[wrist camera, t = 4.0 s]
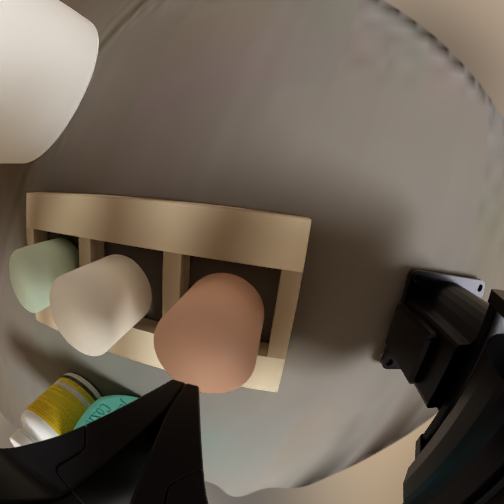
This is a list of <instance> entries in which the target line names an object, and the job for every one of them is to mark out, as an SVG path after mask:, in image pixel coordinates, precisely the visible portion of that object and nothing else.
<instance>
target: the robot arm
mask: <svg viewBox="0 0 504 504" xmlns="http://www.w3.org/2000/svg"><path fill="white" fill-rule="evenodd" d="M416 275H418V279H417V280H416V281H414V277H415V276H416ZM478 286H479V288H478ZM484 289H485V283H484V281H482V280H480V279H476V278H470V277H464V276H458V275H452V274H446V273H439V272H433V271H427V270H421V269H413V270H411V271H410V272H409V274H408V277H407V280H406V284H405V288H404V292H403V295H402V299H401V302H400V304H399V305H398V306H397V308H396V312H395V315H394V318H393V321H392V324H391V327H390V330H389V333H388V336H387V339H386V344H387V345H386V347H385V350H384V353H383V355H382V358H381V364H382V366H383V367H384V368H385V369H401V370H402V372H403V373H404V375H405V377H406V379H407V380H408V382H409V383H410V384H414V385H415V386H416V388H417V390H418V392H419V393H420V395H421V397H422V399H423V401H424V402H425V404H426V406H427V408H434V407H437V409H438V410H439V412H438V413H437V415H436V416H435V418H434V419H433V421H432V422H431V424H430V425H429V427H428V428H427V430H426V431H425V433H424V434H421V436H420V437H419V438H418V440H417V441H416V450H415V460H414V462H413V463H412V464H411V465H410V467H409V468H408V471H407V474H406V477H405V480H404V483H403V498H404V499H403V500H404V503H403V504H504V291H503V290H496V289H492V290H491V293H490V296H489V299H488V303H489V304H488V303H487V302H485V301H484V300H482V295H483V292H484ZM389 359H391V360H390V361H389V362H387V361H388V360H389ZM0 504H208V500H207V496H206V489H205V482H204V471H203V459H202V444H201V426H200V402H199V387H198V386H197V385H192V384H189V383H187V384H185V383H184V382H181V381H177V380H171V381H169V382H167V383H165V384H164V385H162V386H160V387H158V388H156V389H155V390H153V391H151V392H149V393H147V394H145V395H143V396H142V397H140V398H138V399H136V400H134V401H132V402H130V403H128V404H126V405H124V406H122V407H120V408H119V409H117V410H115V411H113V412H111V413H109V414H106V415H104V416H102V417H100V418H98V419H96V420H94V421H92V422H90V423H88V424H86V426H85V425H83V426H81V427H79V428H77V429H74V430H72V431H69V432H67V433H64V434H62V435H59V436H56V437H53V438H50V439H46V440H43V441H39V442H35V443H31V444H27V445H23V446H19V447H14V448H5V449H3V448H2V449H1V448H0Z"/></svg>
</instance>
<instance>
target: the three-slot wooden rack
mask: <svg viewBox="0 0 504 504" xmlns="http://www.w3.org/2000/svg"><path fill="white" fill-rule="evenodd" d="M310 226H311V219H310V218H308V217H302V216H295V215H288V214H281V213H274V212H267V211H260V210H252V209H244V208H237V207H228V206H220V205H211V204H202V203H193V202H184V201H173V200H163V199H152V198H140V197H127V196H114V195H98V194H81V193H59V192H32V193H27V199H26V234H27V246H29V245H33V244H37V243H40V242H44V241H47V231H49V232H54V233H60V234H65V235H71V236H77V237H79V267H82V266H84V265H87V264H89V263H92V262H94V261H97V260H99V259H101V258H104V241H105V242H111V243H117V244H123V245H129V246H135V247H141V248H147V249H153V250H159V251H164V253H163V282H162V317H163V316H164V315H165V314H166V313H167V312H168V311H169V310H170V309H171V308H172V307H173V306H174V305H175V304H176V303H177V301H178V300H179V299H180V298H181V297H182V296H183V295H184V294H185V293H186V292H187V291H188V290H189V272H190V257H191V256H197V257H203V258H210V259H216V260H222V261H229V262H235V263H242V264H249V265H255V266H262V267H269V268H275V269H281V274H280V280H279V286H278V292H277V298H276V304H275V310H274V316H273V322H272V327H271V333H270V338H269V343H265V342H260V343H259V349H258V354H257V359H256V365H255V369H254V371H253V373H252V375H251V377H250V378H249V379H248V380H247V382H246V383H244V384H243V385H242V386H240V387H246V388H252V389H258V390H265V391H272V392H277V391H278V387H279V383H280V379H281V375H282V371H283V367H284V362H285V358H286V353H287V349H288V345H289V340H290V335H291V331H292V326H293V321H294V316H295V311H296V306H297V301H298V296H299V291H300V285H301V280H302V274H303V269H304V263H305V257H306V251H307V245H308V239H309V233H310ZM36 318H37V321H39V322H41V323H43V324H45V325H47V326H49V327H52V328H54V329H56V330H58V331H59V329H58V328H57V326H56V324H55V322H54V319H53V317H52V313H51V309H50V306H48V307H46V308H45V309H43V310H41V311H39V312H37V313H36ZM158 322H159V321H155V320H151V319H147V318H142V319H141V320H140V321H139V322H138V323H136V324H135V325H134V326H133V327H132V328H131V329H130V330H129V331H128V332H127V333H126V334H125V335H123V336H122V337H121V338H120V339H119V340H118V341H117V342H116V343H115V344H114V345H113V346H112V347H111V348H110V349H108V350H107V351H109V352H112V353H114V354H117V355H120V356H123V357H126V358H129V359H132V360H135V361H138V362H141V363H144V364H148V365H151V366H154V367H158V368H161V369H164V368H163V366H162V365H161V363H160V362H159V360H158V358H157V355H156V353H155V349H154V332H155V329H156V326H157V324H158Z"/></svg>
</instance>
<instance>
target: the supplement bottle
mask: <svg viewBox="0 0 504 504" xmlns="http://www.w3.org/2000/svg"><path fill="white" fill-rule="evenodd" d="M99 398H101V395H100V394H99V393H98V391H97V390H96V389H95V388H94V387H93V386H92V385H91V384H90V383H89V382H88V381H87V380H85V379H84V378H82V377H81V376H79V375H77V374H74V373H66V374H64V375H63V376H61V377H60V378H59V379H58V380H57V381H56V382H55V383H54V384H52V385H51V386H50V387H49V388H48V389H47V390H46V391H45V392H44V393H43V394H42V395H40V396H39V397H38V398H37V399H36V400H35V401H34V402H33V403H32V404H31V405H30V406H29V407H27V409H25V411H24V412H23V413H22V415H21V423H22V425H23V429H22V430H21V429H18V430H17V431H15V432H14V433H13V435H12V436H11V437H10V441H11V442H12V444H13V445H14V447H19V446H23V445H27V444H31V443H35V442H39V441H43V440H46V439H50V438H53V437H56V436H59V435H62V434H64V433H67V432H69V431H72V430H74V428H75V426H76V424H77V423H78V421H79V420H80V418H81V417H82V415H83V414H84V413H85V411H86V410H87V409H88V408H89V407H90V406H91V405H92V404H93V403H94V402H95V401H96V400H97V399H99Z"/></svg>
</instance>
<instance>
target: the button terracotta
mask: <svg viewBox="0 0 504 504" xmlns="http://www.w3.org/2000/svg"><path fill="white" fill-rule="evenodd" d="M263 320H264V305H263V302H262V299H261V297H260V295H259V293H258V292H257V290H256V289H255V288H254V287H253V286H252V285H251V284H250V283H249V282H247V281H246V280H244V279H243V278H241V277H239V276H236V275H233V274H229V273H214V274H210V275H207V276H205V277H203V278H201V279H200V280H198V281H197V282H196V283H195V284H194V285H193V286H192V287H191V288H190V289H189V290H188V291H187V292H186V293H185V294H184V295H183V296H182V297H181V298H180V299H179V300H178V301H177V303H176V304H175V305H174V306H173V307H172V308H171V309H170V310H169V311H168V312H167V313H166V314H165V315H164V316H163V317H162V318H161V320H160V321H159V322H158V324H157V326H156V329H155V332H154V349H155V353H156V355H157V358H158V360H159V362H160V363H161V365H162V366H163V368H164V369H165V370H166V371H167V373H168V374H169V375H170V376H171V377H173V378H174V379H175V380H177V381H181V382H184V383H185V384H187V383H189V384H192V385H197V386H198V387H199V392H204V393H225V392H229V391H232V390H235V389H237V388H239V387H240V386H242V385H243V384H244V383H246V382H247V380H248V379H249V378H250V377H251V375H252V373H253V371H254V369H255V365H256V359H257V354H258V349H259V343H260V337H261V332H262V326H263Z"/></svg>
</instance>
